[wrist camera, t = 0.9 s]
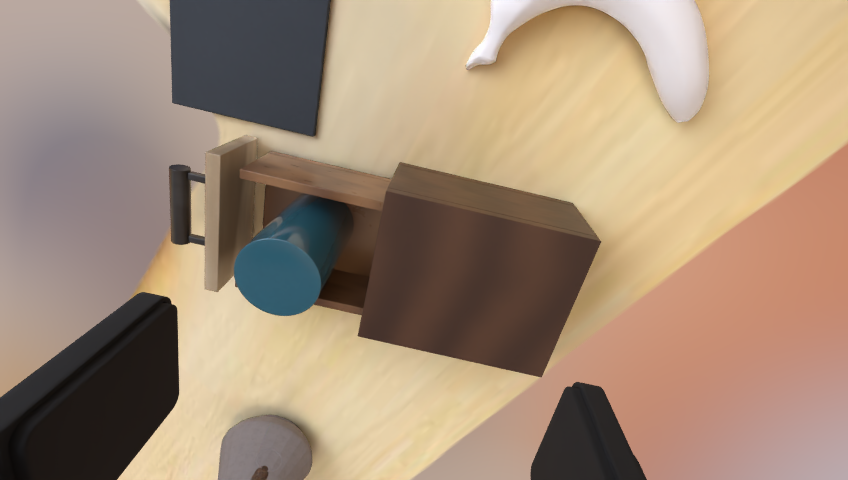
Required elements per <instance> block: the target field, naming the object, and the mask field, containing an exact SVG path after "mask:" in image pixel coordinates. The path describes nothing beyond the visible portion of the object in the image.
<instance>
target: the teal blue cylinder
mask: <svg viewBox="0 0 848 480" xmlns="http://www.w3.org/2000/svg"><path fill="white" fill-rule="evenodd" d="M353 229H354V221H353V217H352V214H351V212H350V210H349V208H348V206H347V205H346V204H345V203H344V202H339V201H335V200H331V199H326V198H322V197H318V196H313V195H309V194H305V193H302V194H300V195H299V196H297V197H296V198H295V199H294V200H293V201H292V202H291V203H290V204H289V205H288V206H287V207H285V208H284V209H283V210H282V211H281V212H280V213H279V214H278V215H277V216H276V217H275V218H274V219H273V220H272V221H271V222H270V223H269V224H268V225H267V226H266V227H265V228H263V229H262V230H261V231H260V232H259V233H258V234H257V235H256V236H255V237H254V238H253V239H252V240H251V241H250V242H249V243H248V244H247V245H246V246H245V247H244V248H243V249H242V250H241V251H240V252H239V254H238V255H237V257H236V260H235V263H234V277H235V281H236V284H237V286H238V288H239V290H240V292H241V293H242V294H243V296H244V297H245V298H246V299H247V300H248V301H249V302H250V303H251V304H253V305H254V306H255V307H257V308H258V309H260V310H262V311H265V312H267V313H270V314H274V315H279V316H291V315H296V314H299V313H302V312H304V311H306V310H307V309H309V308H310V307H311V306H312V305H313V304H314V303H315V302H316V300H317V299H318V297H319V295H320V293H321V291H322V290H323V288H324V286H325V284H326V282H327V280H328V279H329V277H330V275H331V273H332V271H333V269H334V268H335V266H336V264H337V262H338V260H339V258H340V257H341V255H342V253H343V251H344V249H345V247H346V246H347V244H348V242H349V240H350V238H351V236H352V234H353Z"/></svg>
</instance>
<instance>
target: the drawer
mask: <svg viewBox="0 0 848 480" xmlns="http://www.w3.org/2000/svg"><path fill="white" fill-rule="evenodd" d="M257 144H258V138H255V137H251V136H247V135H245V136H242V137H240V138H238V139H235V140H233V141H231V142H228V143H226V144H224V145H221V146H219V147H217V148H214V149H212V150H210V151H207V152H206V162H205V163H206V164H205V174H200V173H196V172H191V168H190V167H188V166H185V165H171V166H170V167H169V183H170V216H171V241H172V243H174V244H178V245H184V244H188V243H190V242H191V243H195V244H200V245H204V246H205V289H206V290H210V291H215V292H218V291H219V290H220V289H221V288H222V287H223V286H224V285H225V284H226V283H227V282H228V281H229V280H230V279H231V278H232V277H233V276H234V263H235V260H236V257H237V255H238V254H239V252H240V251H241V250H242V249H243V248H244V247H245V246H246V245H247V244H248V243H249V242H250V241H251V240H252V230H253V213H254V195H255V182H258V183H262V184H266V188H265V203H264V217H263V228H265V227H266V226H267V225H268V224H269V223H270V222H271V221H272V220H273V219H274V218H275V217H276V216H277V215H278V214H279V213H280V212H281V211H282V210H283V209H284V208H285V207H287V206H288V205H289V204H290V203H291V202H292V201H293V200H294V199H295V198H296V197H297V196H299V195H300V194H302V193H305V194H309V195H313V196H318V197H322V198H326V199H331V200H335V201H339V202H344V203H345V204H346V205H347V206H348V208H349V210H350V212H351V214H352V217H353V221H354V229H353V234H352V236H351V238H350V240H349V242H348V244H347V246H346V247H345V249H344V251H343V253H342V255H341V257H340V258H339V260H338V262H337V264H336V266H335V268H334V269H333V271H332V273H331V275H330V277H329V279H328V280H327V282H326V284H325V286H324V288H323V290H322V291H321V293H320V295H319V297H318V299H317V300H316V302H315V303H314V305H318V306H323V307H327V308H332V309H336V310H341V311H345V312H349V313H354V314H358V315H362V312H363V307H364V302H365V296H366V291H367V286H368V281H369V276H370V271H371V266H372V260H373V255H374V250H375V245H376V240H377V235H378V229H379V224H380V219H381V214H382V209H383V204H384V199H385V193H386V190H387V188H388V186H389V184H390V182H391V180H392V179H388V178H384V177H379V176H375V175H371V174H367V173H362V172H358V171H354V170H350V169H345V168H341V167H337V166H333V165H328V164H324V163H320V162H316V161H311V160H307V159H303V158H299V157H294V156H290V155H286V154H282V153H277V152H273V151H271V152H269V153H267V154H265V155H264V156H262V157H260V158H259V159H257ZM191 180H193V181H197V182H201V183H205V237H203V236H198V235H194V234H191ZM235 287H238V286H237V284H236V281H235Z"/></svg>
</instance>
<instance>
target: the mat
mask: <svg viewBox="0 0 848 480" xmlns="http://www.w3.org/2000/svg"><path fill="white" fill-rule="evenodd" d="M330 2H331V0H170V25H171V62H172V63H171V64H172V103H174V104H179V105H183V106H187V107H191V108H195V109H200V110H204V111H208V112H212V113H216V114H221V115H225V116H229V117H233V118H238V119H242V120H246V121H250V122H254V123H259V124H263V125H267V126H271V127H276V128H280V129H284V130H288V131H292V132H297V133H301V134H305V135H309V136H315V134H316V125H317V116H318V107H319V99H320V90H321V81H322V72H323V64H324V55H325V46H326V37H327V29H328V20H329V11H330Z"/></svg>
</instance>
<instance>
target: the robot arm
mask: <svg viewBox="0 0 848 480" xmlns="http://www.w3.org/2000/svg"><path fill="white" fill-rule="evenodd" d="M178 396H179V366H178V321H177V307H176V306H175V305H172V304H171V300H170V299H169V298H168V297H164V296H160V295H155V294H150V293H145V292H142V293H139V294H137V295H136V296H134V297H133V298H132V299H130V300H129V301H128V302H126V303H125V304H124V305H123V306H121V307H120V308H118V309H117V310H116V311H114V312H113V313H112V314H110V315H109V316H108V317H107V318H105V319H104V320H103V321H101V322H100V323H99V324H97V325H96V326H95V327H93V328H92V329H91V330H89V331H88V332H87V333H85V334H84V335H83V336H81V337H80V338H79V339H77V340H76V341H75V342H73V343H72V344H71V345H69V346H68V347H67V348H65V349H64V350H63V351H61V352H60V353H59V354H58V355H56V356H55V357H54V358H52V359H51V360H49V361H48V362H47V363H45V364H44V365H43V366H42V367H40V368H39V369H38V370H36V371H35V372H34V373H32V374H31V375H30V376H28V377H27V378H26V379H24V380H23V381H22V382H21V383H19V384H18V385H17V386H15V387H14V388H12V389H11V390H10V391H8V392H7V393H6V394H4V395H3V396H2V397H0V480H117V479H118V478H119V476H120V475H121V474H122V473H123V471H124V470H125V469H126V467H127V466H128V465H129V464H130V462H131V461H132V460H133V459H134V457H135V456H136V455H137V454H138V452H139V451H140V450H141V449H142V447H143V446H144V445H145V443H146V442H147V441H148V440H149V438H150V437H151V436H152V435H153V433H154V432H155V431H156V430H157V428H158V427H159V426H160V424H161V423H162V422H163V421H164V419H165V418H166V417H167V416H168V414H169V413H170V412H171V411H172V409H173V408H174V406H175V404H176V402H177V400H178ZM531 480H647V479H646V477H645V475H644V473H643V471H642V468H641V466H640V464H639V462H638V461H637V459H636V457H635V456H634V455H633V453H632V451H631V449H630V447H629V444H628V442H627V440H626V438H625V436H624V433H623V431H622V429H621V427H620V425H619V423H618V420H617V418H616V416H615V414H614V412H613V410H612V407H611V405H610V403H609V401H608V399H607V397H606V394H605V392H604V390H603V389H602V388H601V387H599V386H594V385H589V384H585V383H580V382H576V383H574V384H573V386H572V387H566V388H565V390H564V392H563V394H562V396H561V398H560V401H559V403H558V405H557V408H556V410H555V412H554V414H553V417H552V419H551V421H550V424H549V426H548V428H547V431H546V433H545V435H544V438H543V440H542V442H541V444H540V447H539V449H538V452H537V454H536V456H535V458H534V461H533V463H532V466H531Z"/></svg>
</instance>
